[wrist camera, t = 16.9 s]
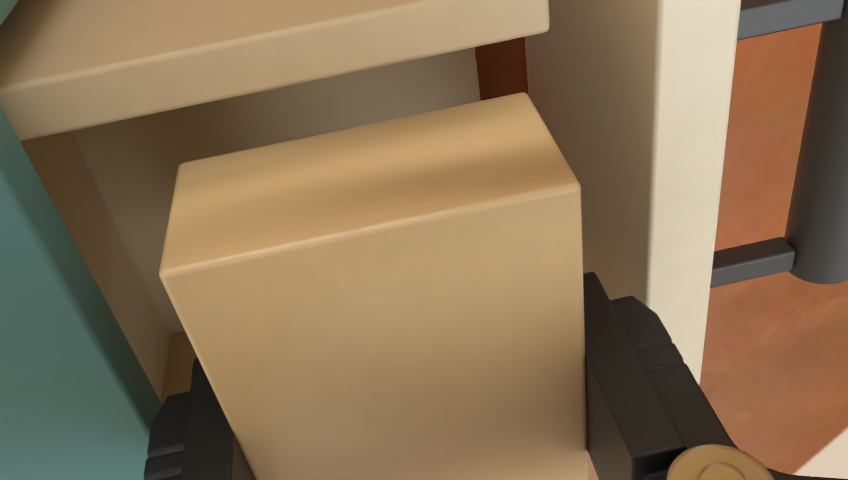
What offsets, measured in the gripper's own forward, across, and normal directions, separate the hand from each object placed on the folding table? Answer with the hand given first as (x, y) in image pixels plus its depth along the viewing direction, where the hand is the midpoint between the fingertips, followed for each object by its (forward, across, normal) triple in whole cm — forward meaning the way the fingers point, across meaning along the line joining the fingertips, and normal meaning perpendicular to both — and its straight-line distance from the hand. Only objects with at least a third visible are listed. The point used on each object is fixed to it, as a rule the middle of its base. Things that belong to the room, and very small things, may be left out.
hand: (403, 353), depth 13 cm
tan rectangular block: (+1, 0, 0) cm, 1 cm away
